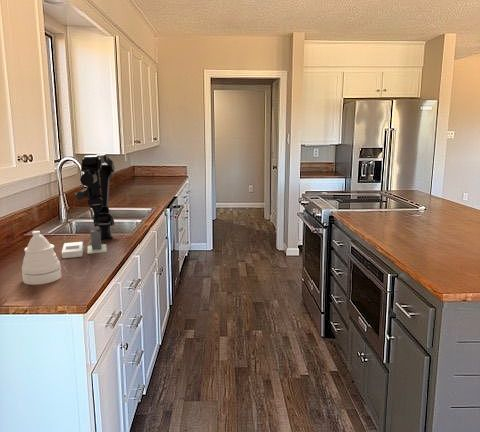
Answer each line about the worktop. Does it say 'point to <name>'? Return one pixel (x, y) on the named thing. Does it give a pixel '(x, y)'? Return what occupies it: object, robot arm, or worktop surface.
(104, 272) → the worktop surface
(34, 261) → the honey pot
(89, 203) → the robot arm
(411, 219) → the worktop surface
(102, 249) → the green pad
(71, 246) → the cream window plate
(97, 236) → the grey rectangular block
